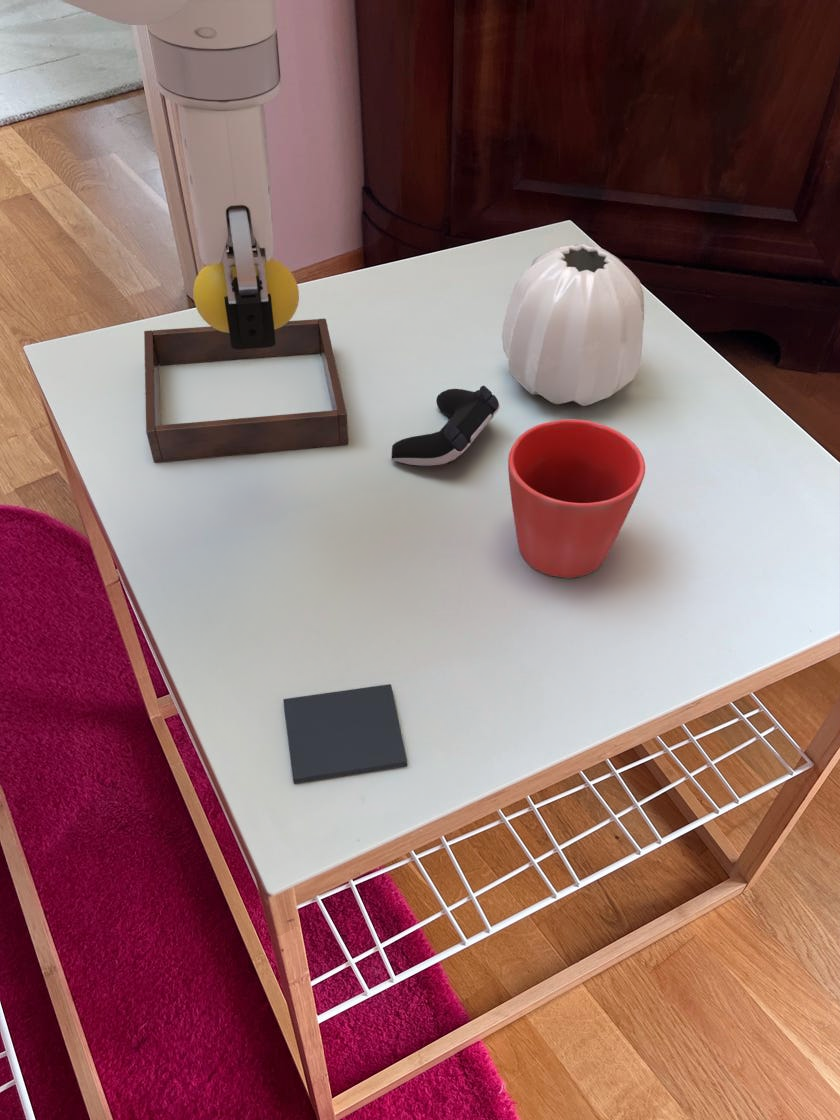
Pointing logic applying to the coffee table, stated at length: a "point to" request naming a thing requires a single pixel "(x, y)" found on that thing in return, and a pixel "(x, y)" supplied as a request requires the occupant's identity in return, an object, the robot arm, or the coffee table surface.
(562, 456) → the flower pot
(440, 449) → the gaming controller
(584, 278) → the vase
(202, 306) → the yellow grooved capsule
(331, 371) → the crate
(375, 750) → the mat
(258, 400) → the coffee table surface
